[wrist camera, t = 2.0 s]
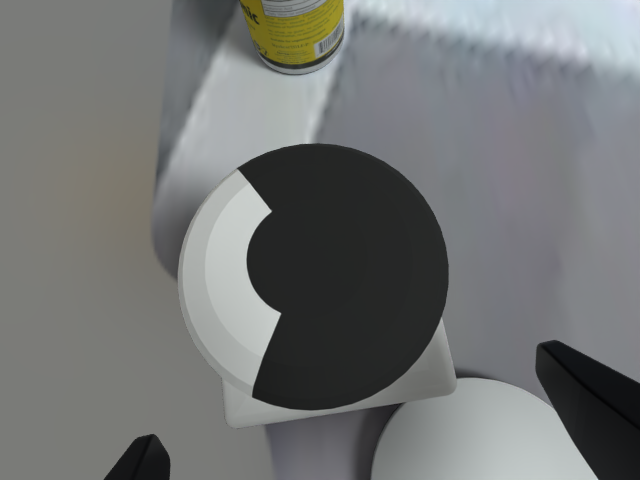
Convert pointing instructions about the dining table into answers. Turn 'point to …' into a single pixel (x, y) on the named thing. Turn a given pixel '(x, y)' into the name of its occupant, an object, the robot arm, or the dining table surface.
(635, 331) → the dining table surface
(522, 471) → the white round dome
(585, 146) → the dining table surface
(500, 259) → the dining table surface
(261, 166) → the medicine bottle
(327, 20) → the supplement bottle
